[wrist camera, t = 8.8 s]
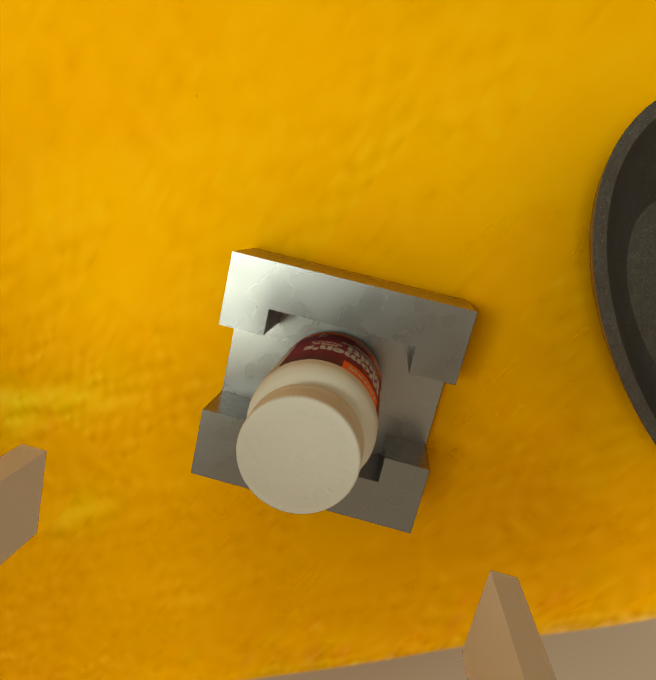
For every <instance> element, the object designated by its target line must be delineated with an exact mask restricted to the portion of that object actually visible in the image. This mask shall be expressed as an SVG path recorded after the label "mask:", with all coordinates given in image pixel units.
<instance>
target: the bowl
mask: <svg viewBox="0 0 656 680" xmlns="http://www.w3.org/2000/svg"><path fill="white" fill-rule="evenodd" d="M589 255H590V271H591V281H592V287H593V293H594V299H595V304H596V309H597V313H598V317H599V321H600V325H601V328H602V332H603V335H604V338H605V341H606V344H607V347H608V350H609V353H610V355H611V358H612V361H613V363H614V366H615V368H616V371H617V373H618V375H619V378H620V380H621V382H622V384H623V387H624V389H625V391H626V393H627V395H628V397H629V399H630V401H631V403H632V405H633V407H634V409H635V411H636V413H637V414H638V416H639V418H640V420H641V421H642V423H643V425H644V427H645V429H646V430H647V432H648V433H649V435H650V437H651V438H652V440H653V441H654V443H655V444H656V101H654V102H653V103H652V104H650V105H649V106H648V107H647V108H645V109H644V110H643V111H642V112H641V113H640V114H639V115H638V116H637V117H636V118H635V119H634V121H633V122H632V123H631V124H630V125H629V127H628V128H627V129H626V130H625V132H624V133H623V135H622V136H621V138H620V139H619V141H618V143H617V144H616V146H615V148H614V150H613V152H612V154H611V156H610V158H609V160H608V162H607V164H606V166H605V168H604V171H603V174H602V176H601V179H600V181H599V185H598V188H597V192H596V195H595V199H594V204H593V210H592V215H591V224H590V240H589Z"/></svg>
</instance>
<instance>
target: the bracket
mask: <svg viewBox="0 0 656 680" xmlns="http://www.w3.org/2000/svg"><path fill="white" fill-rule="evenodd" d="M477 313H478V312H477V311H476V310H475V309H474V308H473V307H472V306H471V305H470V304H469V303H468V302H467V301H466V300H462V299H458V298H454V297H450V296H446V295H442V294H438V293H434V292H430V291H426V290H422V289H418V288H413V287H409V286H405V285H401V284H397V283H393V282H389V281H385V280H381V279H377V278H373V277H369V276H365V275H361V274H357V273H353V272H348V271H344V270H340V269H336V268H332V267H328V266H324V265H320V264H316V263H312V262H308V261H304V260H300V259H296V258H292V257H288V256H283V255H279V254H275V253H271V252H267V251H263V250H259V249H255V248H251V249H244V250H238V251H232V257H231V262H230V267H229V273H228V278H227V283H226V289H225V294H224V299H223V305H222V310H221V315H220V321H219V325H223V326H227V327H231V328H234V333H233V338H232V343H231V348H230V353H229V358H228V363H227V368H226V374H225V379H224V384H223V389H222V391H221V392H220V393H219V394H218V395H217V396H216V397H215V398H214V399H213V400H212V401H211V402H210V403H209V404H208V405H207V406H206V407H205V408H204V409H203V411H202V416H201V422H200V427H199V432H198V438H197V443H196V448H195V453H194V459H193V464H192V469H191V473H194V474H197V475H201V476H205V477H208V478H212V479H215V480H219V481H223V482H226V483H230V484H234V485H237V486H241V487H244V488H248V489H249V487H248V486H247V484H246V483H245V481H244V479H243V478H242V475H241V473H240V470H239V467H238V463H237V457H236V444H237V439H238V435H239V432H240V429H241V427H242V425H243V423H244V422H245V420H246V419H247V412H248V408H249V404H250V401H251V399H252V397H253V394H254V393H255V391H256V389H257V388H258V386H259V385H260V383H261V382H262V381H263V379H264V378H265V377H266V376H267V374H268V373H269V372H270V371H271V370H272V368H273V367H274V366H275V365H276V364H277V363H278V362H279V361H280V360H281V359H282V357H283V356H284V355H285V354H286V353H287V352H288V351H289V350H290V349H291V348H292V347H293V346H294V345H295V344H296V343H297V342H299V341H300V340H302V339H303V338H305V337H307V336H309V335H312V334H314V333H318V332H325V331H335V332H341V333H345V334H347V335H350V336H352V337H354V338H356V339H358V340H359V341H361V342H362V343H363V344H364V345H365V346H366V347H367V348H368V349H369V350H370V351H371V352H372V354H373V355H374V357H375V359H376V361H377V363H378V365H379V368H380V372H381V380H382V386H381V399H380V407H379V419H378V432H377V438H376V442H375V445H374V449H373V451H372V453H371V455H370V457H369V459H368V461H367V462H366V463H365V465H364V466H363V467H362V468H361V469H360V472H359V475H358V478H357V480H356V482H355V484H354V486H353V487H352V489H351V490H350V492H349V493H348V494H347V495H346V496H345V497H344V498H343V499H342V500H341V501H340V502H338V503H337V504H335V505H334V506H332V507H330V508H328V509H326V510H328V511H331V512H335V513H339V514H342V515H346V516H349V517H353V518H357V519H360V520H364V521H367V522H371V523H375V524H378V525H382V526H386V527H389V528H393V529H396V530H400V531H404V532H407V533H411V530H412V527H413V523H414V520H415V517H416V513H417V510H418V507H419V504H420V500H421V497H422V494H423V490H424V487H425V484H426V481H427V477H428V474H429V471H430V469H429V463H428V456H427V450H426V442H427V438H428V435H429V432H430V428H431V425H432V422H433V418H434V415H435V412H436V408H437V405H438V402H439V398H440V395H441V391H442V388H443V385H444V382H445V383H449V384H453V385H456V382H457V379H458V375H459V372H460V369H461V365H462V362H463V359H464V355H465V352H466V349H467V346H468V342H469V339H470V336H471V332H472V329H473V326H474V323H475V319H476V316H477Z"/></svg>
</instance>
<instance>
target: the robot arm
mask: <svg viewBox="0 0 656 680" xmlns="http://www.w3.org/2000/svg"><path fill="white" fill-rule="evenodd" d="M45 459H46V450H42V449H38V448H34V447H31V446H27V445H23V444H21V445H19V446H18V447H16V448H14V449H13V450H11V451H9V452H8V453H6V454H5V455H3V456H1V457H0V565H1V564H2V563H3V562H4V561H5V560H7V559H8V558H9V557H10V556H11V555H12V554H13V553H15V552H16V551H17V550H18V549H19V548H20V547H21V546H22V545H24V544H25V543H26V542H27V541H28V540H29V539H30V538H31V537H33V536H34V535H35V534H36V533H37V528H38V519H39V511H40V502H41V493H42V485H43V476H44V468H45ZM462 652H463V657H464V663H465V668H466V673H467V679H468V680H556V677H555V675H554V672H553V670H552V667H551V664H550V662H549V659H548V656H547V654H546V651H545V649H544V646H543V643H542V641H541V638H540V635H539V633H538V630H537V628H536V625H535V622H534V620H533V617H532V614H531V612H530V609H529V606H528V604H527V601H526V599H525V596H524V593H523V591H522V588H521V585H520V583H519V580H518V578H517V577H513V576H510V575H506V574H502V573H499V572H495V571H491V570H490V573H489V576H488V579H487V581H486V584H485V587H484V590H483V593H482V596H481V599H480V601H479V604H478V607H477V610H476V613H475V616H474V619H473V622H472V624H471V627H470V630H469V633H468V636H467V639H466V642H465V644H464V647H463V650H462Z"/></svg>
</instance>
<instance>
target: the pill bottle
mask: <svg viewBox="0 0 656 680" xmlns="http://www.w3.org/2000/svg"><path fill="white" fill-rule="evenodd" d="M381 386H382V380H381V372H380V368H379V365H378V363H377V361H376V359H375V357H374V355H373V354H372V352H371V351H370V350H369V349H368V348H367V347H366V346H365V345H364V344H363V343H362V342H361V341H359V340H358V339H356V338H354V337H352V336H350V335H347V334H345V333H341V332H335V331H325V332H318V333H314V334H312V335H309V336H307V337H305V338H303V339H302V340H300V341H299V342H297V343H296V344H295V345H294V346H293V347H292V348H291V349H290V350H289V351H288V352H287V353H286V354H285V355H284V356H283V357H282V359H281V360H280V361H279V362H278V363H277V364H276V365H275V366H274V367H273V368H272V370H271V371H270V372H269V373H268V374H267V376H266V377H265V378H264V379H263V381H262V382H261V383H260V385H259V386H258V388H257V389H256V391H255V393H254V394H253V397H252V399H251V401H250V404H249V408H248V412H247V419H246V420H245V422H244V423H243V425H242V427H241V429H240V432H239V435H238V439H237V444H236V457H237V463H238V467H239V470H240V473H241V475H242V478H243V479H244V481H245V483H246V484H247V486H248V487H249V489H250V490H251V491H252V492H253V493H254V494H255V495H256V496H257V497H258V498H259V499H261V500H262V501H263V502H265V503H266V504H268V505H270V506H272V507H274V508H276V509H278V510H281V511H284V512H288V513H294V514H311V513H316V512H320V511H323V510H326V509H328V508H330V507H332V506H334V505H335V504H337V503H338V502H340V501H341V500H342V499H343V498H344V497H345V496H346V495H347V494H348V493H349V492H350V490H351V489H352V487H353V486H354V484H355V482H356V480H357V478H358V475H359V472H360V469H361V468H362V467H363V466H364V465H365V463H366V462H367V461H368V459H369V457H370V455H371V453H372V451H373V449H374V445H375V442H376V438H377V432H378V419H379V407H380V399H381Z"/></svg>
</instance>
